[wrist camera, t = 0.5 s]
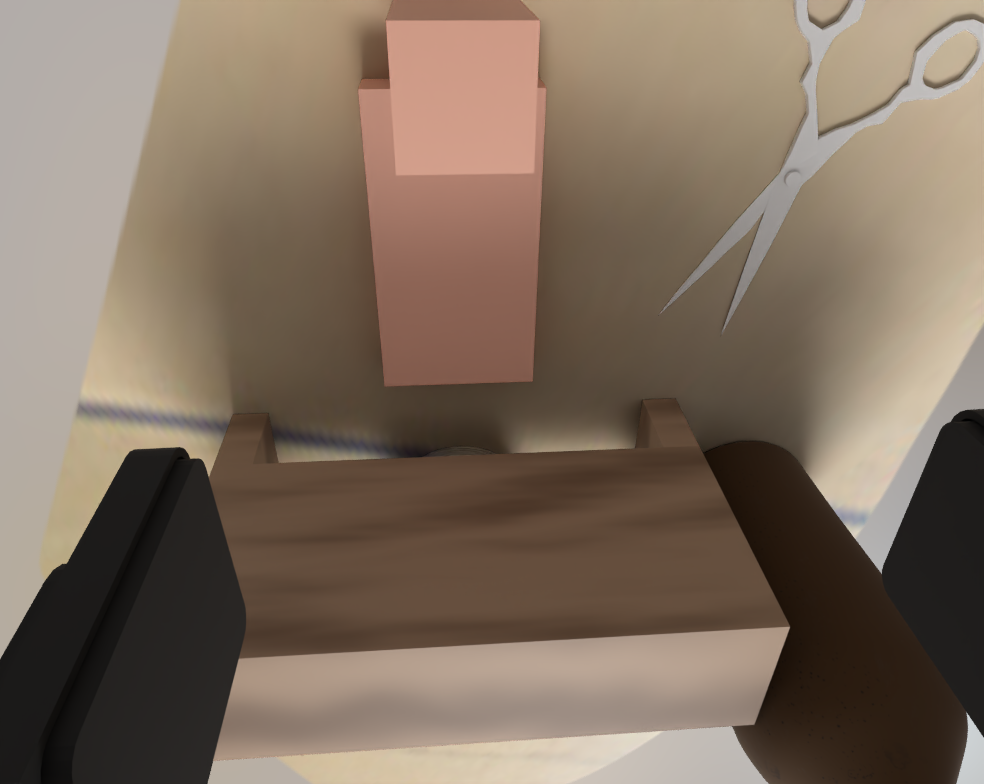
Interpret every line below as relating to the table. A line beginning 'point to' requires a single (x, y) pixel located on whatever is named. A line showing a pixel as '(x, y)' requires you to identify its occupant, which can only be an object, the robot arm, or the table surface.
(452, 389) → the table surface
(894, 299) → the table surface
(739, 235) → the scissors
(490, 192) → the block
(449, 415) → the table surface
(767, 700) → the olive oil
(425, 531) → the cabinet
